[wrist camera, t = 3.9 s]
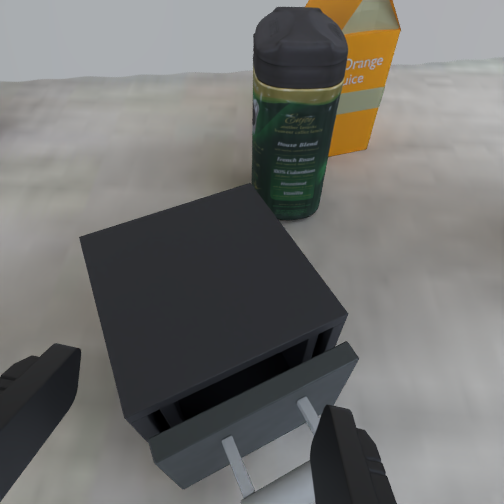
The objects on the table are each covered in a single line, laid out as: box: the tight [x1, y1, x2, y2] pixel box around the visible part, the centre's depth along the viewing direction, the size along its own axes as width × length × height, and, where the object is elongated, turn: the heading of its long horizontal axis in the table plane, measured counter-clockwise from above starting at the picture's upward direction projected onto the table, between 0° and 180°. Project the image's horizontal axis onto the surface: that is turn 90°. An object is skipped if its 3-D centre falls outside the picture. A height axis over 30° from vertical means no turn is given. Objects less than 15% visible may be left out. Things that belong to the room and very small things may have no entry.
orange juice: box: [305, 0, 401, 157], centre depth 43 cm, size 8×9×20 cm
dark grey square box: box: [79, 183, 348, 443], centre depth 27 cm, size 13×13×11 cm
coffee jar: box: [252, 7, 348, 220], centre depth 36 cm, size 10×8×19 cm
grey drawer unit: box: [148, 335, 359, 504], centre depth 24 cm, size 16×12×9 cm
